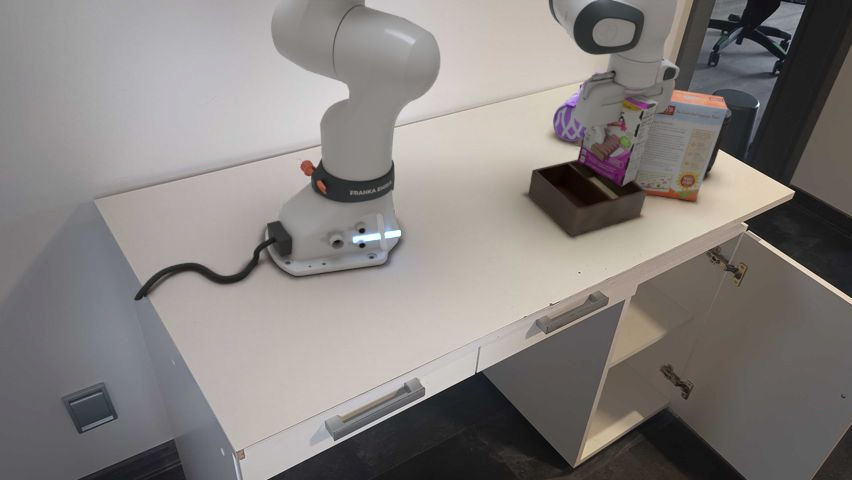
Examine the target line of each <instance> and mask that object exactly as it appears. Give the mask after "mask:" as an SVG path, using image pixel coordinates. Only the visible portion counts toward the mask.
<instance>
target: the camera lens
mask: <svg viewBox="0 0 852 480" xmlns="http://www.w3.org/2000/svg"><path fill="white" fill-rule="evenodd" d="M727 109H728V110H727V112H726V115H725V118H724V121H723V124H722V126H721V129H720V132H719V135H718V138H717V141H716V144H715V147H714V149H713V152H712V155H711V158H710V161H709V164H708V166H707V169H706V172H705V175H704V178H703V179H705V178H707V176H708V174H709V172H711V171H712V169H713V166H714V164H715V163H716V159H717V157H718V153H719V150H720V148H721V145H722V143H723V139H724V138H725V135H726V134H727V130H728V128H729V125H730V123H731V120H732V119H731V118H732V117H731V116H732V111H731V109H730V108H728V107H727Z"/></svg>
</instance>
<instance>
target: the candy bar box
mask: <svg viewBox="0 0 852 480" xmlns="http://www.w3.org/2000/svg"><path fill="white" fill-rule="evenodd" d="M623 102H624V103H623V106H622V110H621V114H620V118H619V121H618V122H613V123H608V124H607V128H604V131H605V133H607V134H608V135H609V136H608V139H607V142H606V143H602V144H599V143H597V142H596V140H595V137H596V133H597V132H596V130H595V127H590V128H585V130H584V135H583V138H582V139H581V144H580V147H579V152H578V156H577V160H578V162H579V163H581V164H583V165H584V166H586V167H588V168H590V169H591V170H593V171H595V172H597V173H598V174H600V175H602V176H604V177H605V178H607V179H609V180H611V181H612V182H614V183H616V184H618V185H619V186H621V187H622V186H624V185H626V184H627V183H629V182H631V181H633V180H635V178H636V175H637V172H638V169H639V165H640V162H641V158H642V155H643V152H644V149H645V145H646V142H647V139H648V135H649V132H650V129H651V125H652V122H653V119H654V116H655V113H656V109H657V106H658V102H656V101H654V100H652V99H650V98H648V97H646V96H644V95H640V96H634V97H629V98H625V99H623Z"/></svg>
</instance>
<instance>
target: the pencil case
mask: <svg viewBox="0 0 852 480" xmlns="http://www.w3.org/2000/svg"><path fill="white" fill-rule="evenodd" d="M601 73H602V72H598V71H597V72H595V73H594V74H601ZM589 78H591V77H589ZM589 78H587V79H585V80H584V81H583V82H582V84H580V85H579V89H578V90H577V91H576V92H575V93H573V94H572V95H571V96H570V97H569V98H567V100H566V101H564V102H563V103H562V104H561V105H560V106H558V108H557V109H556V111H555V113H554V114H553V121H552V125H553V130H554V132H555V134H556V135H557V136H558V137H559V138H561V139H563V140H564V141H567V142H578V141H582V139H583V135H584V130H585V127H584V126H582V125H581V124H580V123H578V122H577V121H576V119H575V118H574V112H575V108H576V104H577V101H578V98H579V95H580V93H581V90H582V88H583V86H584V83H585V82H586V81H587V80H588V79H589Z"/></svg>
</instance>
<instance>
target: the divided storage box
mask: <svg viewBox="0 0 852 480" xmlns="http://www.w3.org/2000/svg"><path fill="white" fill-rule="evenodd" d="M647 195H648V194H647V191H646V190H644V189H643V188H642V187H641V186H639V185H638V184H637V183H635V182H634V181H631V182H629V183H627V184H626V185H624V186H622V187H621V186H619V185H618V184H616V183H614V182H612V181H611V180H609V179H607V178H605V177H604V176H602V175H600V174H598V173H597V172H595V171H593V170H591V169H590V168H588V167H586V166H584V165H583V164H581V163H579V162H578V159H574V160H570V161H564V162H560V163H556V164H552V165H548V166H544V167H539V168H535V169H532V171H531V177H530V182H529V187H528V195H527V196H529V198H530V199H531V200H532V201H534V202H535V203H536V205H538V206H539V207H540V208H541V209H542V210H543V211H544V212H545V213H546V214H547V215H549V216H550V218H552V219H553V220H554V221H555V222H556V223H557V224H558V225H559V226H560V227H561V228H562V229H563V230H564V231H565V232H566V233H568V235H570V236H571V237H575V236H579V235H582V234H585V233H588V232H593V231H595V230H598V229H601V228H605V227H609V226H612V225H615V224H618V223H622V222H625V221H628V220H632V219H635V218H638V217H640V216H641V213H642V209H643V207H644V203H645V200H646V197H647Z"/></svg>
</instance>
